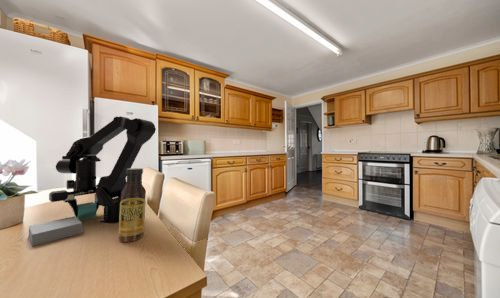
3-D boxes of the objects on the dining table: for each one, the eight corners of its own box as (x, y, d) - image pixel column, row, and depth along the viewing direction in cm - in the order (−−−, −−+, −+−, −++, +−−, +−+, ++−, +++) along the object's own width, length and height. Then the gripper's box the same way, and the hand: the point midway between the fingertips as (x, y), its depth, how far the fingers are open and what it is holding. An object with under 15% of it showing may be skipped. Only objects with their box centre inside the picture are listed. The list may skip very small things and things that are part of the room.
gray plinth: (82, 232, 57) (82, 222, 57) (32, 246, 49) (32, 234, 49) (74, 225, 63) (74, 216, 63) (28, 236, 55) (28, 225, 55)
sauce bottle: (116, 245, 49) (116, 170, 49) (120, 236, 55) (120, 168, 55) (145, 239, 52) (145, 168, 52) (146, 231, 58) (146, 167, 58)
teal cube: (96, 217, 71) (96, 204, 71) (78, 221, 67) (78, 207, 67) (92, 214, 74) (92, 202, 74) (75, 218, 70) (75, 204, 70)
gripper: (108, 170, 83) (108, 205, 83) (46, 174, 68) (46, 217, 68) (117, 171, 76) (117, 210, 76) (51, 177, 61) (51, 224, 61)
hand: (85, 214), depth 70 cm, fingers closed on teal cube, 5 cm apart
